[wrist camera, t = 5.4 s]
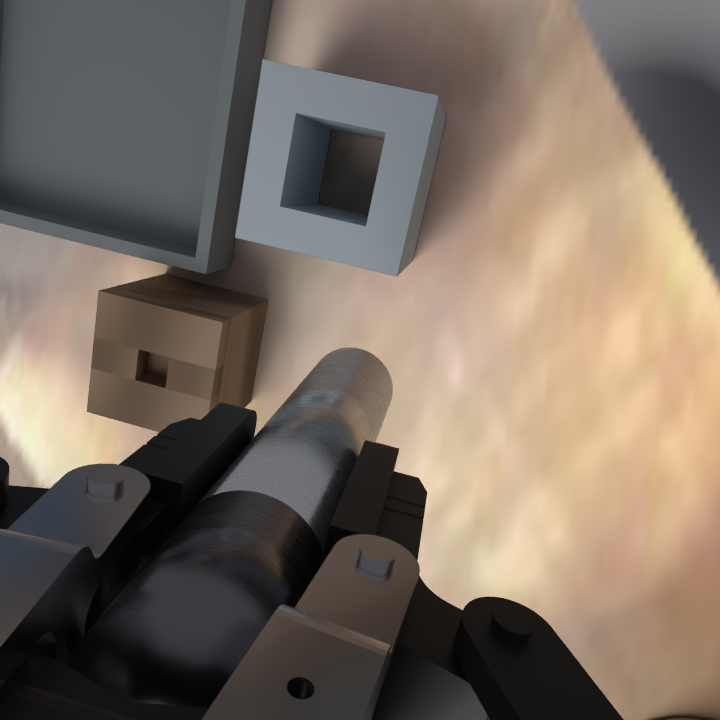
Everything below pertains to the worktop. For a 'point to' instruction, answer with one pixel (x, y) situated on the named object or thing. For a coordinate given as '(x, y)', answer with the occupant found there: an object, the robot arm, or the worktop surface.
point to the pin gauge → (240, 545)
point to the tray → (130, 122)
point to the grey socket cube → (307, 161)
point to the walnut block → (173, 350)
